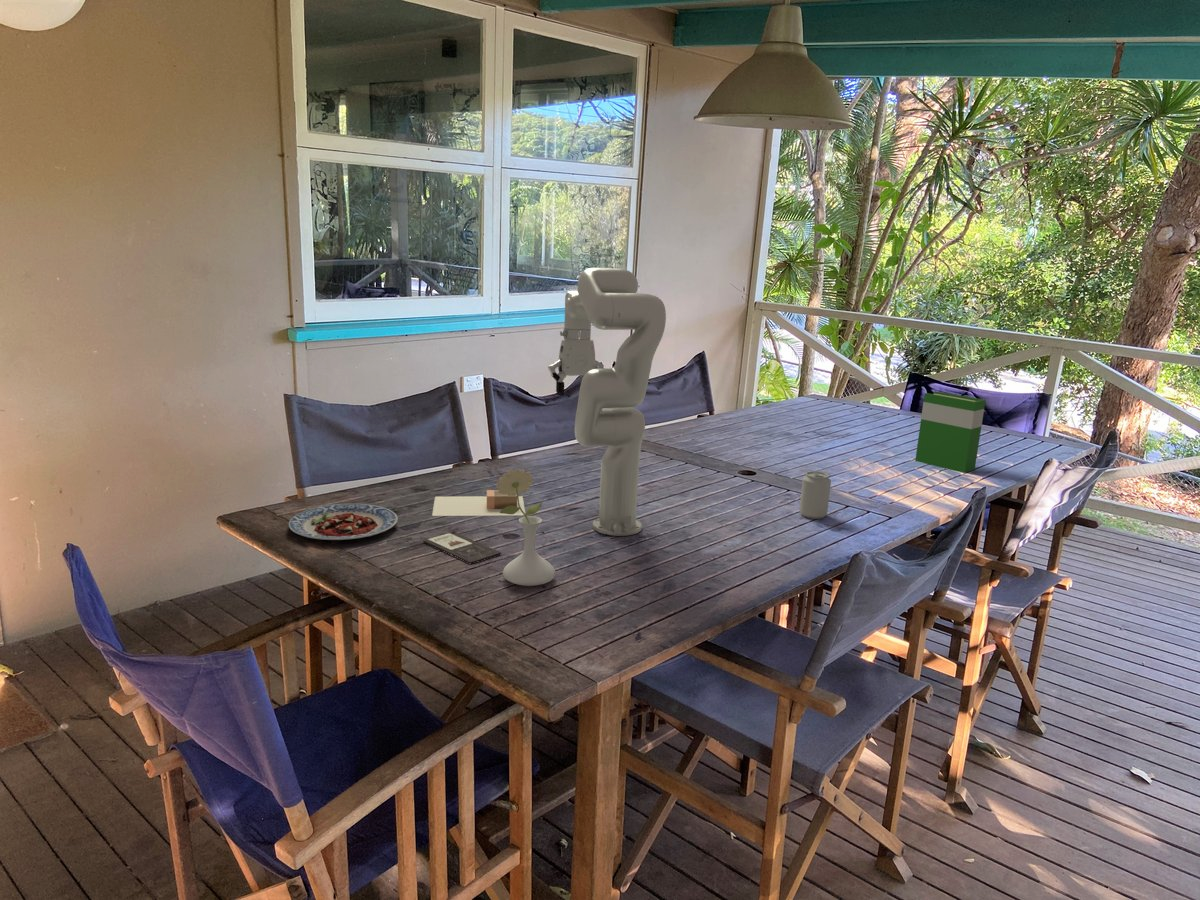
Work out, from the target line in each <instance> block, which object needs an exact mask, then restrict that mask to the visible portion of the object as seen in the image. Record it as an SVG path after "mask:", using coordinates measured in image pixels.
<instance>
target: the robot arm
mask: <svg viewBox="0 0 1200 900" xmlns="http://www.w3.org/2000/svg"><path fill="white" fill-rule="evenodd" d="M638 289H639V281H638V279H637V277H636V275H635V274H634V273H633V272H631V271H630V270H628V269H625V268H618V267H617V268H615V267H612V268H611V267H590V268H586V269H584V270H583V271H582V272H581V273H580V275H579V277H578V281H577V289H576V290H574V289H573V290H568V291H567V292H566V293H565V296H564V297H565V298H564V328H563V330H561V331H559V335H560V336H561V337H563V338H562V339H561V342H560V347H559V352H558V360H557V361H554V362H553V363H552V364H550V365H549V366H548V367H547V368H548V371H549V372H550V376H551V377H552V378H553V379H554V380H555V382H556V383H555V384H556V386H555V387H556V388H555V391H556V394H557V395H558V396H560V397H563V396H565V382H564V380H565V378H566V377H567V376H568V377H575V376H577V377H578V376H583V377H582V379H581V382H580V386H579V391H578V392H579V393H578V400H577V406H576V412H575V420H574V437H575V439H576V441H577V442H578V444H579V445H581V446H584V447H608V448H607V449H606V451H605V453H604V454H603V455H602V459H601V463H600V483H599V485H600V486H599V505H598V506H599V509H598V518H596V519H594V520H593V521H592V529H593V530H595V531H596V532H597V533H600V534H603V535H606V534H607V536H615V537H626V536H632V535H635V534H638V533H639V532H641V531H642V527H643V525H642V523H641V522H640V521H639V520H637V507H638V489H639V469H640V456H641V449H642V443H643V439H644V435H645V430H646V420H645V416H644V414H643V412H642V411H641V410H639V409H637V408H636V407H638V406H640V405H641V404H642V403H643V401H644V400H645V396H646V393H647V390H648V385H649V380H650V374H651V369H652V365H653V360H654V356H655V354H656V351H657V349H658V347H659V345H660V343H661V340H662V339H663V336H664V333H665V328H666V322H667V321H666V320H667V313H666V307H665V306H666V305H665V304H664V302H663V300H662V299H661V298H660V297H659V296H656V295H653V294H650V293H649V294H648V293H643V292H642V293H638ZM592 326H593V327H595V328H596V329H597V330H602V331H605V330H606V331H607V330H609V331H610V330H611V331H612V330H618V331H620V330H623V331H624V330H625V331H626V330H627V331H629V330H632V331H633V330H634V331H633V333H631V334H630V335H629V336H628V337H627V338H626V339H625V340H623V341H624V342H623V343H621V345H620V347H619V348H618V350H617V352H616V353H617V354H616V357H615V358H616V359H615V364H614V366H612V367H608V368H604V364H603V363H602V362H600V361H598V360H596V350H595V342H594V339H591V331H592V328H591V327H592ZM556 369H558V373H557V372H556Z"/></svg>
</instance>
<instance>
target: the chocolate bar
mask: <svg viewBox="0 0 1200 900" xmlns="http://www.w3.org/2000/svg"><path fill="white" fill-rule="evenodd" d="M423 542H425V543H427V544H429V545H428V546H430V545H431V546H430V547H432V546H433V547H432V548H434V547H436V548H438V549H440V550H442V551H445V552H447V553H449V554H452V555H453V556H456V557H458V558H460V559H462V560H464V561H466V562H468V563H474V562H477V561H480V562H482V561H481V560H483V561H485V560H484V559H487V558H490V557H493V558H495V557H494V556H496V557H498V556H497V555H499V556H501V555H502V552H500V551H498V550H496V549H494V548H492V547H490V546H487V545H485V544H482V543H480V542H477V541H476V540H473V539H471V538H469V537H466V536H464V535H463V534H460V533H458V532H455V531H453V532H452V531H451V532H449V533H445V534H442V535H437V536H435V537H431V538H426V539H424V540H423V541H422V543H423ZM425 543H424V544H425ZM427 544H426V545H427ZM436 548H435V549H436ZM438 549H437V550H438ZM440 550H439V551H440ZM442 551H441V552H442ZM445 552H444V553H445ZM447 553H446V554H447ZM449 554H448V555H449ZM500 554H501V555H500ZM453 556H452V557H453ZM460 559H459V560H460ZM490 559H491V558H490ZM462 560H461V561H462ZM487 560H488V559H487ZM464 561H463V562H464ZM466 562H465V563H466ZM468 563H467V564H468ZM477 563H478V562H477ZM474 564H475V563H474Z"/></svg>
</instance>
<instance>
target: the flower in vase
mask: <svg viewBox="0 0 1200 900" xmlns="http://www.w3.org/2000/svg"><path fill="white" fill-rule="evenodd" d="M531 485H533V477H532V474H531V472H530V471H526V472H525V469H524V468H522V469H519V468H516V469H515V470H513V469H510V470H508V472H506V473H505V472H504V473H503V475H501V476H500V477H498V481H497V482H496V485H495V487H496V490H499V491H498V492H499V493H502V494H503V495H506V494H507V495H508V496H515V495H517V500H518V506H519V508H518V507H515V506H507V507H505V508H504V509H502V510H501V512H500V513H505V514H515V513H516V512H517V511H518V510H519V509H520V510H521V512H522V513H523V514H524V516H520V518H519V519H518V522H519V524H520V525H521V527H522V530H523V534H524V545H523V546H524V548H523V551H522V552H521V554H519V555H518V556H517V557H516V558H514V559H513V560H511V561H510V562H509V563H508V564H506V565H505V566H504V569H503V570H502V575H503V577H504V579H505V580H506V581H508V582H510V583H512V584H514V585H518V586H525V587H532V586H534V587H535V586H541V585H544V584H546V583H549V582H551V581H552V580H554V578H555V576H556V570H555V567H554V566H553V565H552V564H551V563H550V562H549V561H547V559H545V558H543V557H542V556H541V555H539V554H538V552H537V550H536V536H537V531H538V528H539V526H540V525H541V523H542V522H543V519H542V518H540V517H539V516H533V515H534V514H537V513H538V511H540V509H541V508H542V503H543V502H540V503H536V504H533V505H531V506H529V507H527V509H526V511H525V513H524V512H523V510H522V509H521V507H520V504H519V497H518V496H519V495H521V494H522V493H525V492H528V489H529V488H531Z"/></svg>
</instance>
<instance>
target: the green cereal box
mask: <svg viewBox="0 0 1200 900" xmlns="http://www.w3.org/2000/svg"><path fill="white" fill-rule="evenodd" d="M923 396H924V397H923V403H922V409H921V417H920V423H919V424H920V426H919V431H918V438H917V439H918V440H917V445H916V446H917V447H916V454H915V460H914V461H915V462H917V463H922V464H925V465H926V464H927V465H929V466H934V467H938V468H942V469H947V470H951V471H955V472H958V473H962V474H966V473H969V472H971V471H975V469H976V463H977V457H978V452H979V451H978V450H979V445H980V439H981V438H980V437H981V433H982V425H983V420H984V419H983V418H984V413H985V407H986V406H985V405H986V399H981V398H975V397H971V396H965V395H960V394H953V393H947V392H942V391H937V390H934V391H933V393H929V392H924V395H923Z"/></svg>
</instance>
